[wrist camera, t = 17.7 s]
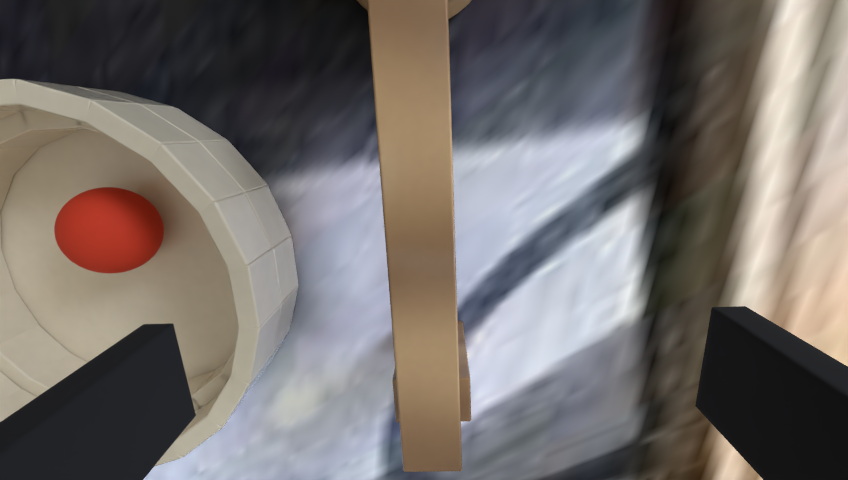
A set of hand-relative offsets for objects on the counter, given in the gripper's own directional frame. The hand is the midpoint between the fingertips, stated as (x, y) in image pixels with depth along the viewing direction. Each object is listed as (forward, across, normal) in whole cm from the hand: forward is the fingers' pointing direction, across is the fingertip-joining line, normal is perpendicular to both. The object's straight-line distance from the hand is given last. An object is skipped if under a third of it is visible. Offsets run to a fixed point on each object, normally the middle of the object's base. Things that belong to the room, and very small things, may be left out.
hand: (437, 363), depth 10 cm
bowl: (+9, -14, 0) cm, 17 cm away
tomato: (+7, -14, +2) cm, 15 cm away
